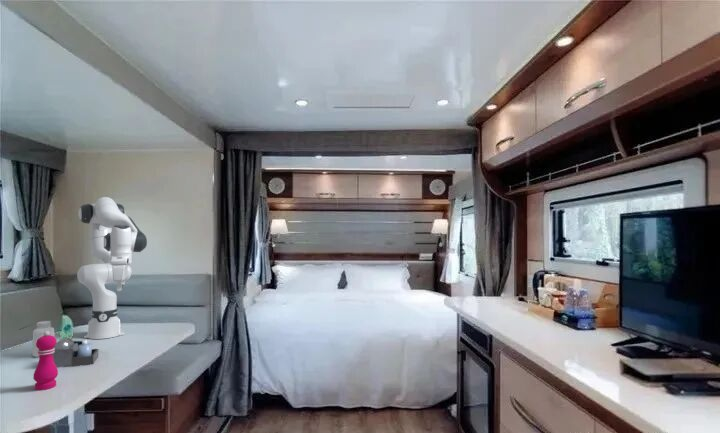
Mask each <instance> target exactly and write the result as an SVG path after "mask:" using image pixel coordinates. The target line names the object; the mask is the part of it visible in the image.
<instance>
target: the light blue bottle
mask: <svg viewBox="0 0 720 433" xmlns="http://www.w3.org/2000/svg"><path fill="white" fill-rule="evenodd" d="M92 347H93V346H92V343H88V339H82V342H81V343H80V344H78V357H83V356H91V353H92V349H93V348H92Z"/></svg>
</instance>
